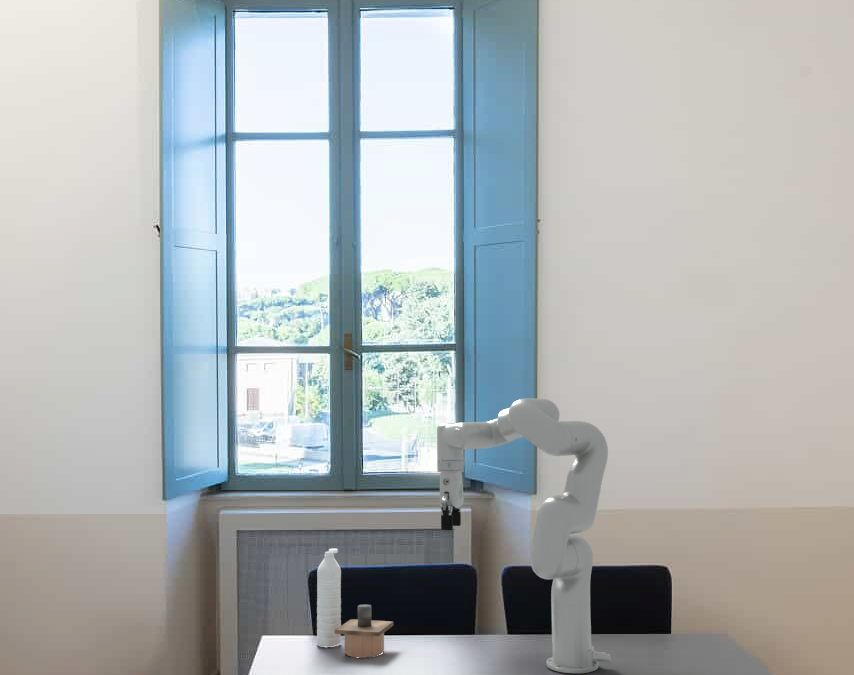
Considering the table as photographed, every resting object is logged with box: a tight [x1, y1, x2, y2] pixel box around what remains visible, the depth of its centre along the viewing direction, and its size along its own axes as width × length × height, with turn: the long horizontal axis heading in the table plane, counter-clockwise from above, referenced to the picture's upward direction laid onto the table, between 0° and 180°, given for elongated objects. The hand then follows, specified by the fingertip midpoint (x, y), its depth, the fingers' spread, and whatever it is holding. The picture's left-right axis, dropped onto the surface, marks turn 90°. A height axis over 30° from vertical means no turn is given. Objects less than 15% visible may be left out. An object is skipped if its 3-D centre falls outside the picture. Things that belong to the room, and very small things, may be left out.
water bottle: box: [316, 548, 342, 646], centre depth 230 cm, size 9×6×25 cm
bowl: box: [344, 632, 385, 659], centre depth 220 cm, size 10×10×6 cm
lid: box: [335, 604, 394, 636], centre depth 221 cm, size 12×12×6 cm
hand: (451, 527), depth 237 cm, fingers open, 9 cm apart
